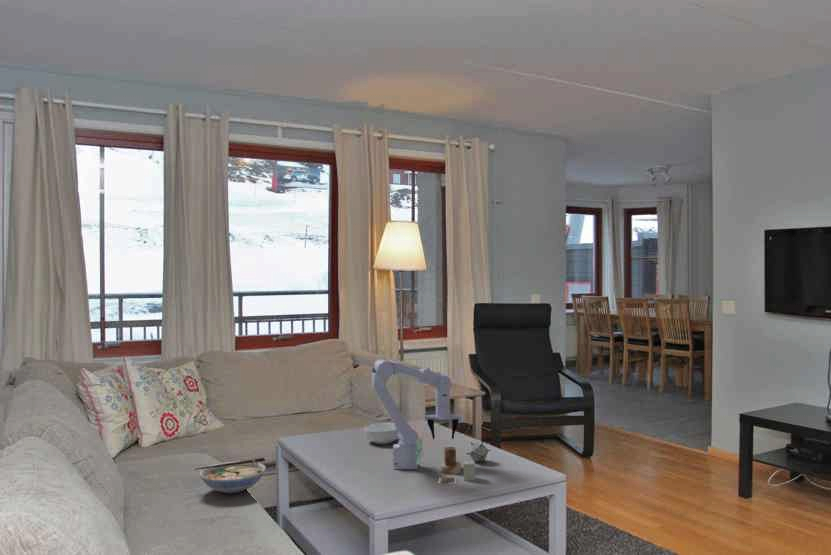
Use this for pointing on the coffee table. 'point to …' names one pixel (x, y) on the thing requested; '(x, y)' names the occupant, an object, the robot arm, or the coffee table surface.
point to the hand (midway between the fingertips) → (443, 438)
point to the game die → (478, 452)
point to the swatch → (447, 480)
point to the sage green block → (469, 470)
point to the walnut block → (449, 456)
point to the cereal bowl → (381, 433)
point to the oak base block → (451, 468)
